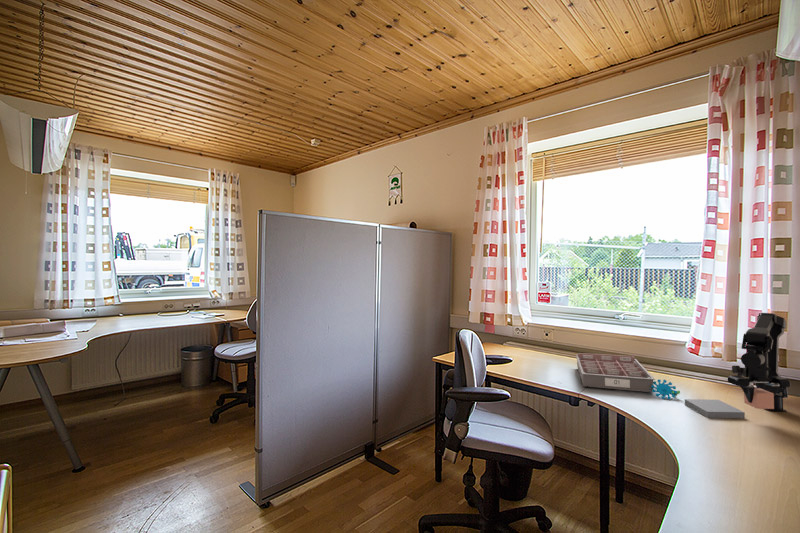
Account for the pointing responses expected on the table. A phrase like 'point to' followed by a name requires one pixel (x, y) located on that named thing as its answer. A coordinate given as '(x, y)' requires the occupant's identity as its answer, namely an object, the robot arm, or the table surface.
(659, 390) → the blue spiky toy
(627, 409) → the table surface
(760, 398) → the salmon pink cube
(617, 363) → the organizer tray
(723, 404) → the plinth
